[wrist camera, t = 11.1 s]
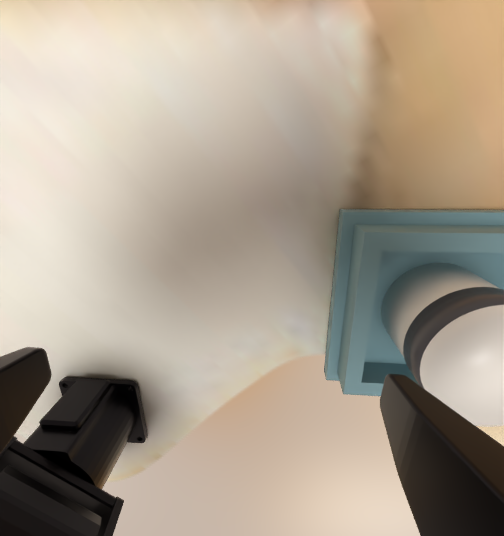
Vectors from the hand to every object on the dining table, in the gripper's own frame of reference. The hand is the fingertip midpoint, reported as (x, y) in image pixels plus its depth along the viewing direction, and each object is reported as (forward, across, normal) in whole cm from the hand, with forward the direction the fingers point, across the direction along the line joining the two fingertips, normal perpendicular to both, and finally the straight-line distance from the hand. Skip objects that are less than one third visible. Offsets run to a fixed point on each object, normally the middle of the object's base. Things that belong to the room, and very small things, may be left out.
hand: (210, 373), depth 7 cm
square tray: (+12, -12, +3) cm, 17 cm away
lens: (+11, -12, +3) cm, 16 cm away
